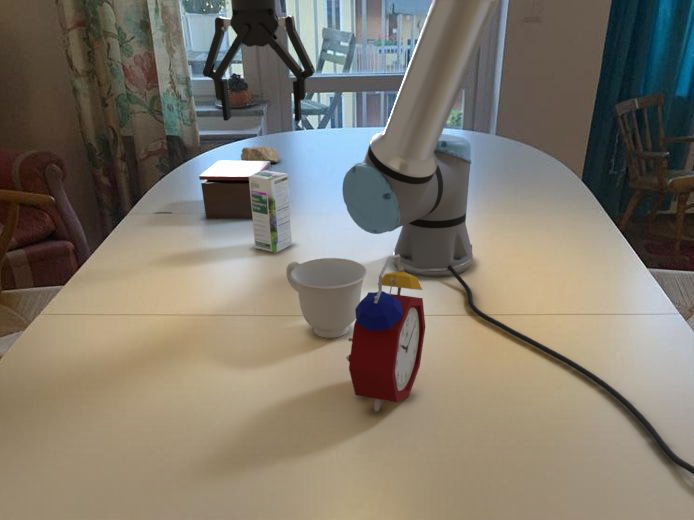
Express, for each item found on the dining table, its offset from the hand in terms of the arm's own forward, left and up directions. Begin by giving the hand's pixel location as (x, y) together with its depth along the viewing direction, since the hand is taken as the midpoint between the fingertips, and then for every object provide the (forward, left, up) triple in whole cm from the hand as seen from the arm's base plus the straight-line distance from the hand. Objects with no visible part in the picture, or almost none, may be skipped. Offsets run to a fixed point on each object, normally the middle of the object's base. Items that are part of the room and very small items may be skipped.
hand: (262, 119), depth 138 cm
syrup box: (0, 0, -24) cm, 24 cm away
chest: (+25, +13, -24) cm, 37 cm away
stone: (+66, +17, -24) cm, 72 cm away
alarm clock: (-57, -27, -24) cm, 68 cm away
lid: (+25, +13, -16) cm, 32 cm away
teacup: (-37, -16, -24) cm, 47 cm away
